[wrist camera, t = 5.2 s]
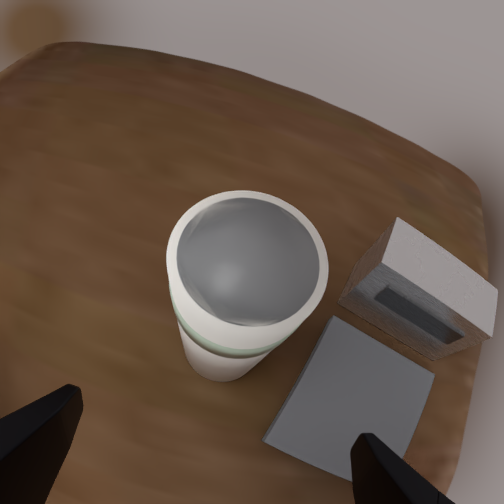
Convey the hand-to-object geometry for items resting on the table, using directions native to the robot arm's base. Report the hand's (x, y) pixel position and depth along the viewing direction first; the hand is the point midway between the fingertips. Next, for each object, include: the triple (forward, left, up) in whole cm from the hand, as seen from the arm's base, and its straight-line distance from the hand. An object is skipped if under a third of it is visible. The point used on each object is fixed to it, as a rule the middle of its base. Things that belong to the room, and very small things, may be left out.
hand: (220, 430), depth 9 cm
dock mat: (-4, -10, -11) cm, 15 cm away
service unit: (+2, -16, -11) cm, 20 cm away
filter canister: (+4, -3, -11) cm, 13 cm away
